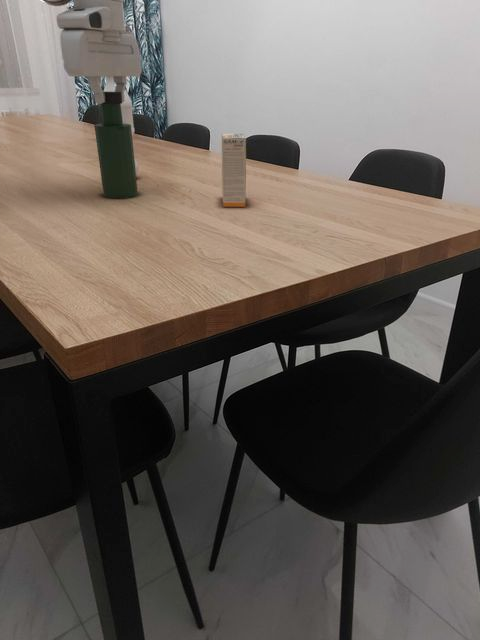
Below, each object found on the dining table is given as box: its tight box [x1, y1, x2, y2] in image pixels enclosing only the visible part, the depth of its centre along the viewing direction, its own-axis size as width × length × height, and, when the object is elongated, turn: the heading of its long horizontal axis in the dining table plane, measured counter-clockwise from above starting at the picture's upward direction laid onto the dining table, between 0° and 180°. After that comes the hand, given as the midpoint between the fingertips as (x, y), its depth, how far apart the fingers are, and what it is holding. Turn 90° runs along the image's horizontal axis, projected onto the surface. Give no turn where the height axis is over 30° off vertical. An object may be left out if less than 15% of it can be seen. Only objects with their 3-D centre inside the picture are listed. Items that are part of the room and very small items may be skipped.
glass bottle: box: [94, 104, 139, 200], centre depth 105 cm, size 7×7×18 cm
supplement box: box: [221, 133, 247, 208], centre depth 102 cm, size 8×5×13 cm, turn 5°
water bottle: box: [102, 77, 139, 178], centre depth 120 cm, size 7×7×25 cm
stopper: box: [103, 92, 122, 104], centre depth 101 cm, size 5×5×6 cm
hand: (110, 102), depth 101 cm, fingers closed on stopper, 4 cm apart
